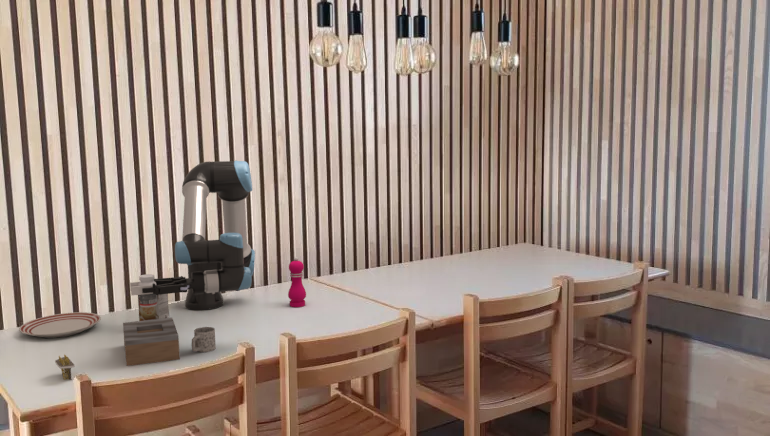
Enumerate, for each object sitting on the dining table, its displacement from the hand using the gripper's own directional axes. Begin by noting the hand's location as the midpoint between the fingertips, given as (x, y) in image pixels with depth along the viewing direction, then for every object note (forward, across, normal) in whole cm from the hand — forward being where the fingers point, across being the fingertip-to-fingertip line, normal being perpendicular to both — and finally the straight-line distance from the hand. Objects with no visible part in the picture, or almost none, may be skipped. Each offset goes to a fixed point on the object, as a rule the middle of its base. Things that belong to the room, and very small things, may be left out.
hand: (130, 288), depth 240 cm
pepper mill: (-64, +39, -22) cm, 78 cm away
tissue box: (-5, 0, -22) cm, 22 cm away
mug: (-21, -5, -22) cm, 31 cm away
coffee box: (-8, +30, -22) cm, 38 cm away
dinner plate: (+24, +40, -22) cm, 52 cm away
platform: (+20, -14, -22) cm, 33 cm away
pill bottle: (-5, 0, -6) cm, 8 cm away
